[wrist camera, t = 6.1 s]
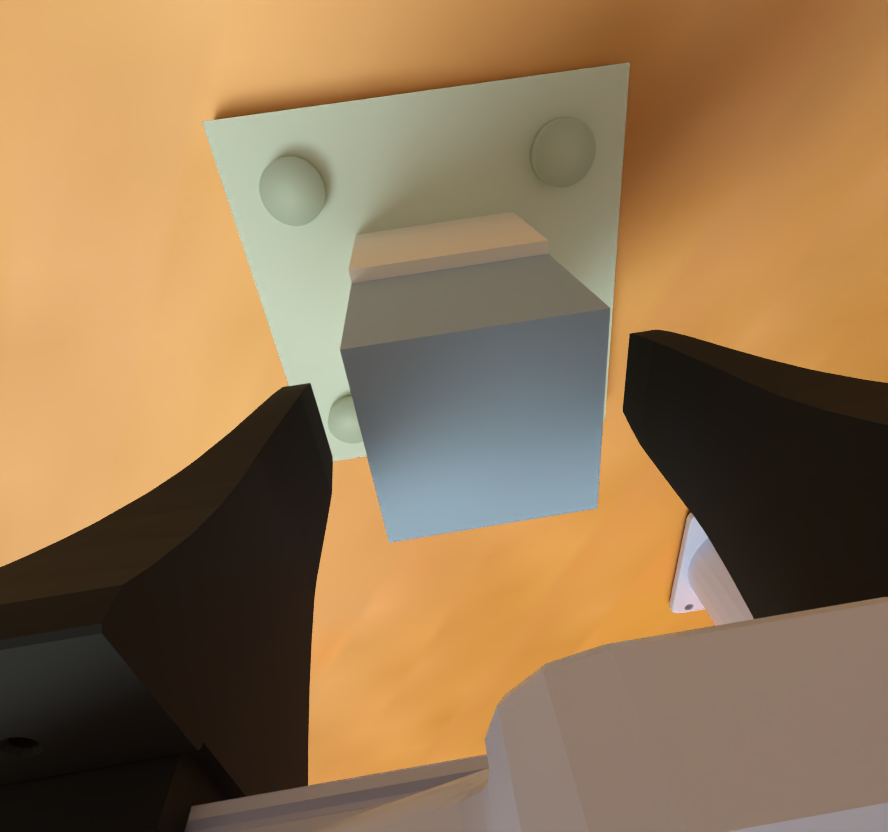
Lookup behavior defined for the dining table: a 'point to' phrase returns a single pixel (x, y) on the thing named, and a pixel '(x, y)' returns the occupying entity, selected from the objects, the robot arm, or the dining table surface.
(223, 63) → the dining table surface
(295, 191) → the baseplate
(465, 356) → the blue block
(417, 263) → the cream block
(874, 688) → the robot arm
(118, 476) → the dining table surface
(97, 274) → the dining table surface
